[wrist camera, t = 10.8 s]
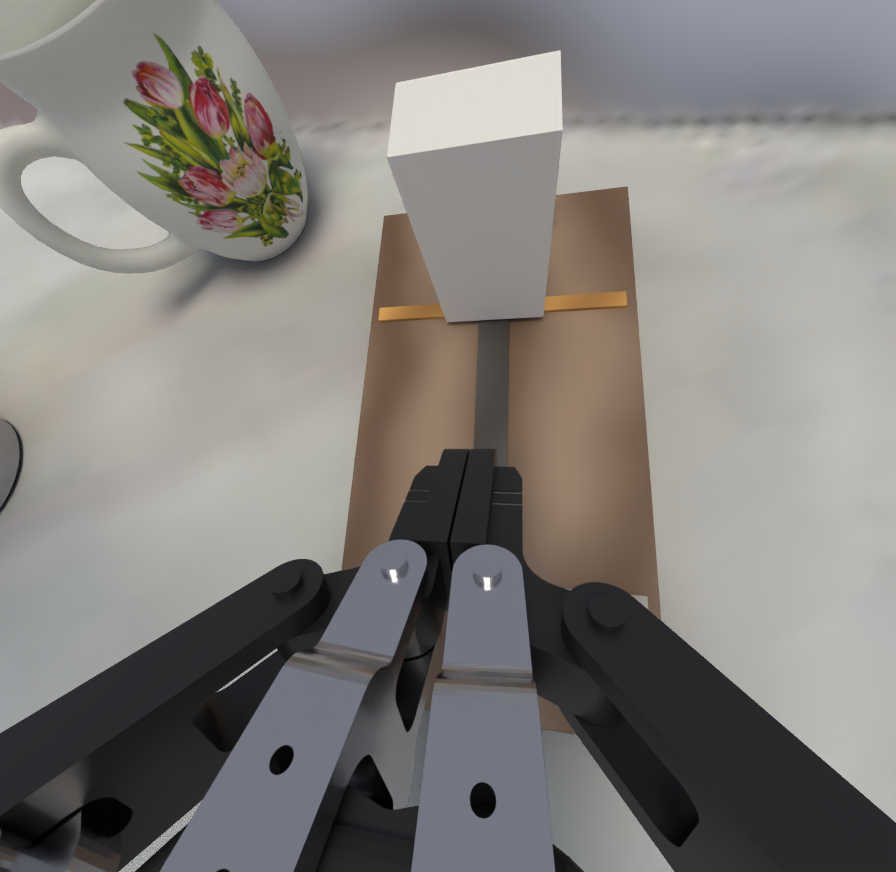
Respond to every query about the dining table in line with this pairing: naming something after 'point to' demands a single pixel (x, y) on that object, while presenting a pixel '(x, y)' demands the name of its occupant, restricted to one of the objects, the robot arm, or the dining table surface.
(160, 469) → the dining table surface
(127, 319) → the dining table surface
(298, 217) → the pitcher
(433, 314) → the board
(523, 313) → the slider tab
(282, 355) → the dining table surface
